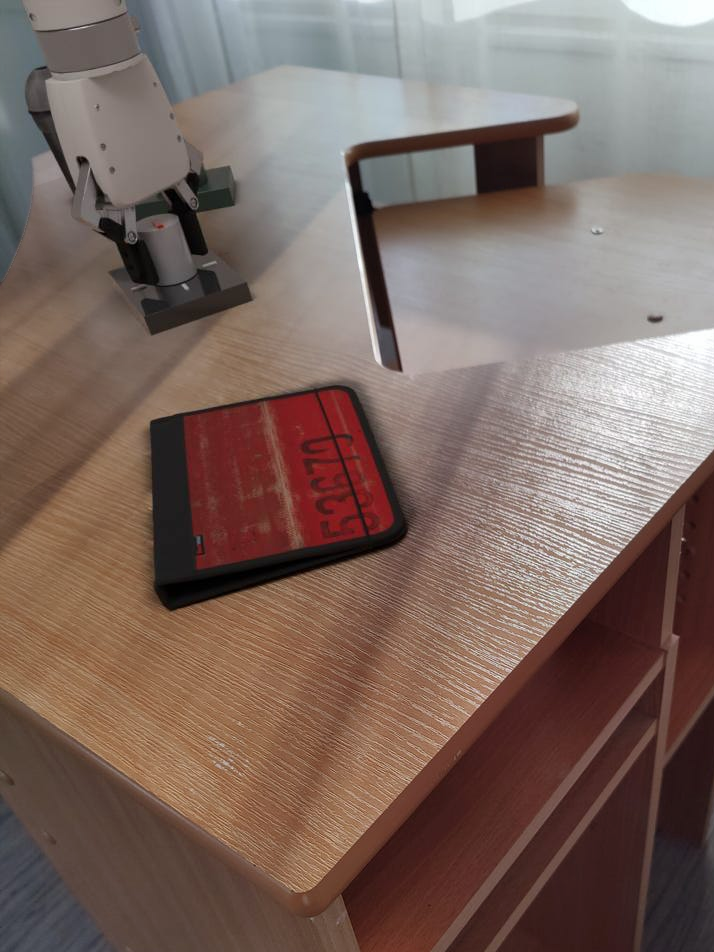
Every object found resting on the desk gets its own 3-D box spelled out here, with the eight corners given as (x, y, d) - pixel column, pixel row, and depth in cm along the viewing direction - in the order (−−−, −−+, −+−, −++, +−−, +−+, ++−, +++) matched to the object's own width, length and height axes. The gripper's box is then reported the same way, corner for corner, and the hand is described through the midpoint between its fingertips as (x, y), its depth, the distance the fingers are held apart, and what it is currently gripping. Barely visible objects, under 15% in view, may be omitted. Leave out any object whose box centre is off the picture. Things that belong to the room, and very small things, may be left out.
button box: (137, 224, 106) (123, 189, 103) (143, 201, 112) (131, 167, 110) (234, 206, 107) (224, 170, 104) (235, 183, 113) (225, 149, 110)
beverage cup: (62, 209, 114) (-17, 26, 100) (114, 191, 117) (44, 11, 103) (83, 220, 110) (4, 30, 95) (136, 201, 112) (66, 15, 98)
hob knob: (146, 276, 85) (124, 220, 81) (189, 262, 86) (169, 206, 83) (158, 290, 82) (136, 232, 78) (202, 275, 84) (183, 218, 80)
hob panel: (119, 300, 90) (106, 270, 87) (211, 270, 92) (201, 240, 90) (156, 348, 80) (143, 315, 78) (256, 313, 83) (246, 280, 81)
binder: (150, 584, 52) (145, 417, 66) (163, 613, 53) (155, 443, 68) (411, 521, 54) (350, 374, 69) (416, 551, 56) (356, 400, 70)
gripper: (134, 22, 78) (202, 230, 90) (-25, 77, 68) (78, 302, 80) (195, 20, 75) (257, 236, 87) (39, 77, 65) (135, 312, 77)
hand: (170, 266), depth 84 cm, fingers open, 6 cm apart
